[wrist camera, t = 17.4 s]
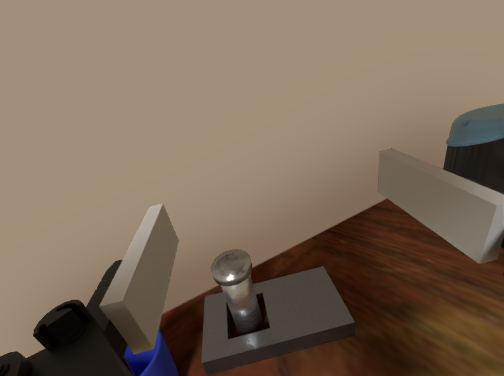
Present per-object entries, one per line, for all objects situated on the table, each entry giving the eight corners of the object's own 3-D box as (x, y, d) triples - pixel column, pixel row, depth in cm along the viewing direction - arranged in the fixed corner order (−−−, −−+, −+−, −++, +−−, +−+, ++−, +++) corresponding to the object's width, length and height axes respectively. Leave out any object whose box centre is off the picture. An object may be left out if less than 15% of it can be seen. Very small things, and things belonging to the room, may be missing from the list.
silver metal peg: (264, 307, 42) (247, 245, 36) (270, 339, 37) (253, 273, 31) (233, 315, 42) (211, 254, 35) (235, 348, 37) (210, 284, 30)
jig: (324, 277, 45) (323, 266, 43) (355, 335, 35) (355, 322, 33) (209, 307, 44) (204, 296, 43) (207, 374, 34) (201, 363, 33)
